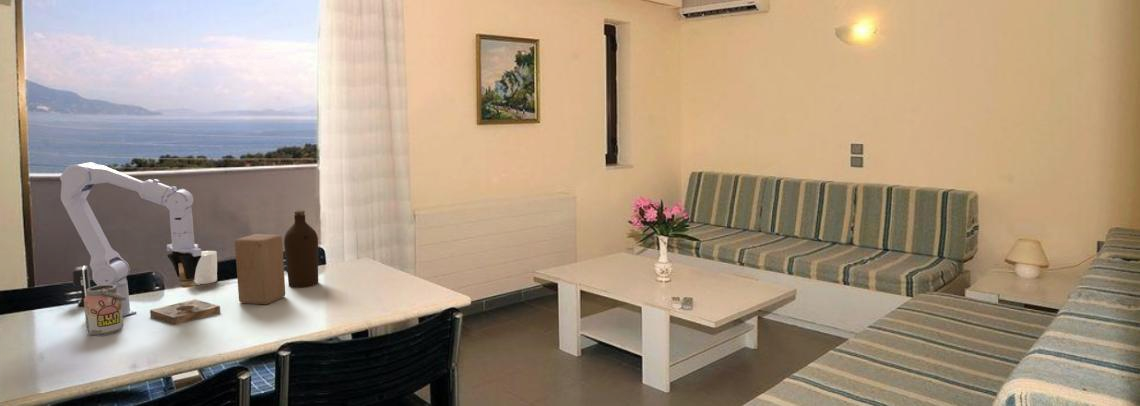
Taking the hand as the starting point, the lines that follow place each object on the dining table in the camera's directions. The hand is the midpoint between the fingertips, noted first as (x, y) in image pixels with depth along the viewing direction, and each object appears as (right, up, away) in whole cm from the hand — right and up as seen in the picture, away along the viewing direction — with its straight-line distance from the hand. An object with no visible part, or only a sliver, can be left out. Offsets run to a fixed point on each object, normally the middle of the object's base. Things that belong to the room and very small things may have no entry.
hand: (186, 277), depth 200 cm
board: (+1, -10, -3) cm, 11 cm away
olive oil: (+22, -6, +31) cm, 39 cm away
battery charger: (-36, -9, +8) cm, 38 cm away
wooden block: (+17, -9, +12) cm, 23 cm away
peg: (0, -3, +1) cm, 3 cm away
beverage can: (-11, -13, -17) cm, 24 cm away
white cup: (-13, -5, +34) cm, 37 cm away
